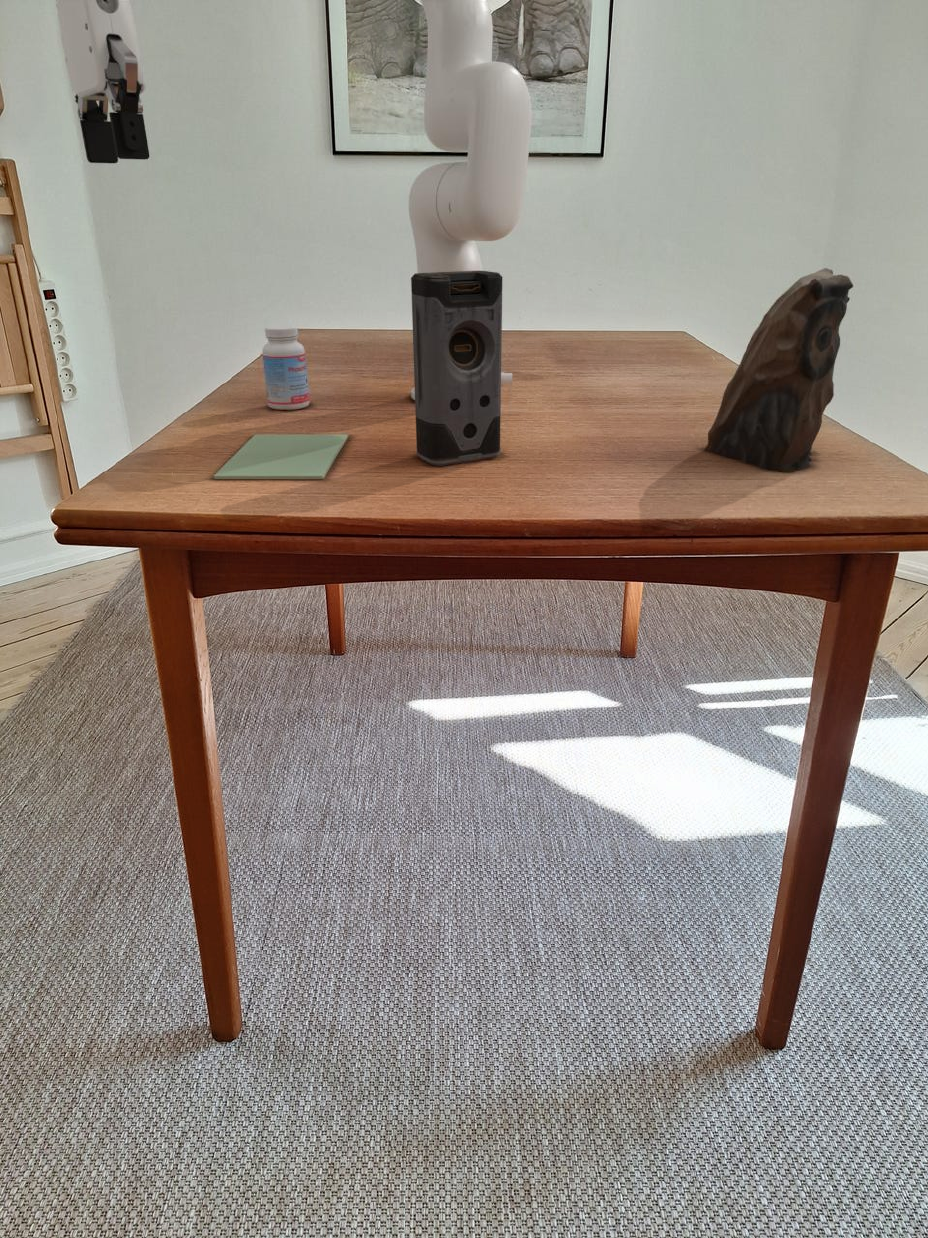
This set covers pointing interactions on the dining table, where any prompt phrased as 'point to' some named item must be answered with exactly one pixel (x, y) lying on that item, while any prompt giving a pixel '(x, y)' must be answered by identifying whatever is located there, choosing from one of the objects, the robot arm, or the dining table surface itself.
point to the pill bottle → (285, 369)
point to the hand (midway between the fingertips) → (117, 160)
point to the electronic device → (457, 365)
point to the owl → (784, 378)
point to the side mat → (284, 457)
